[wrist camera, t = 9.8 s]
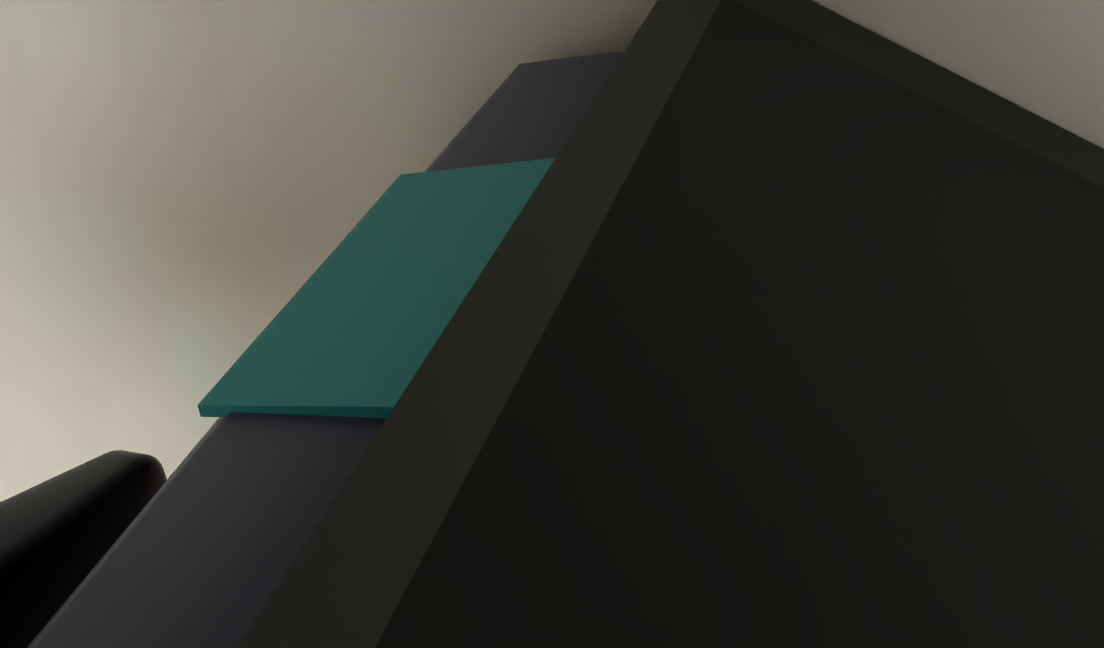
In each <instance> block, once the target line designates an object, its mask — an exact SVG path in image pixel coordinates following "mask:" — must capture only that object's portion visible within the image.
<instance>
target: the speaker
mask: <svg viewBox="0 0 1104 648" xmlns="http://www.w3.org/2000/svg"><path fill="white" fill-rule="evenodd" d="M198 408H199V411H200V415H201V417H219V419H218V420H217V421H216V422H215V423H214V425H213V426H212V427H211V428H210V429H209V431H208V432H207V433H206V434H205V435H204V437H203V438H202V439H201V440H200V441H199V442H198V444H197V445H196V446H195V447H194V448H193V450H192V451H191V452H190V453H189V454H188V456H187V457H186V458H185V459H184V460H183V462H182V463H181V464H180V465H179V466H178V468H177V469H176V470H175V471H174V472H173V474H172V475H171V476H170V477H169V478H168V480H167V481H166V482H165V483H164V484H163V485H162V487H161V488H160V489H159V490H158V491H157V493H156V494H155V495H154V496H153V497H152V499H151V500H150V501H149V502H148V503H147V505H146V506H145V507H144V508H143V509H142V511H141V512H140V513H139V514H138V515H137V517H136V518H135V519H134V520H133V521H132V522H131V524H130V525H129V526H128V527H127V528H126V530H125V531H124V532H123V533H122V534H121V536H120V537H119V538H118V539H117V540H116V542H115V543H114V544H113V545H112V546H111V548H110V549H109V550H108V551H107V552H106V554H105V555H104V556H103V557H102V558H101V560H100V561H99V562H98V563H97V564H96V565H95V567H94V568H93V569H92V570H91V571H90V573H89V574H88V575H87V576H86V577H85V579H84V580H83V581H82V582H81V583H80V585H79V586H78V587H77V588H76V589H75V591H74V592H73V593H72V594H71V595H70V597H69V598H68V599H67V600H66V601H65V602H64V604H63V605H62V606H61V607H60V608H59V610H58V611H57V612H56V613H55V614H54V616H53V617H52V618H51V619H50V620H49V622H48V623H47V624H46V625H45V626H44V628H43V629H42V630H41V631H40V632H39V634H38V635H37V636H36V637H35V638H34V640H33V641H32V642H31V643H30V644H29V645H28V647H27V648H1104V149H1102V148H1100V147H1098V146H1096V145H1094V144H1092V143H1090V142H1088V141H1086V140H1084V139H1082V138H1080V137H1078V136H1076V135H1074V134H1072V133H1070V132H1068V131H1066V130H1064V129H1063V128H1061V127H1059V126H1057V125H1055V124H1053V123H1051V122H1049V121H1047V120H1045V119H1043V118H1041V117H1039V116H1037V115H1035V114H1033V113H1031V112H1029V111H1027V110H1025V109H1023V108H1021V107H1019V106H1017V105H1015V104H1013V103H1011V102H1009V101H1007V100H1006V99H1004V98H1002V97H1000V96H998V95H996V94H994V93H992V92H990V91H988V90H986V89H984V88H982V87H980V86H978V85H976V84H974V83H972V82H970V81H968V80H966V79H964V78H962V77H960V76H958V75H956V74H954V73H952V72H950V71H949V70H947V69H945V68H943V67H941V66H939V65H937V64H935V63H933V62H931V61H929V60H927V59H925V58H923V57H921V56H919V55H917V54H915V53H913V52H911V51H909V50H907V49H905V48H903V47H901V46H899V45H897V44H895V43H893V42H892V41H890V40H888V39H886V38H884V37H882V36H880V35H878V34H876V33H874V32H872V31H870V30H868V29H866V28H864V27H862V26H860V25H858V24H856V23H854V22H852V21H850V20H848V19H846V18H844V17H842V16H840V15H838V14H836V13H835V12H833V11H831V10H829V9H827V8H825V7H823V6H821V5H819V4H817V3H815V2H813V1H811V0H658V1H657V2H656V4H655V6H654V7H653V9H652V10H651V12H650V13H649V15H648V16H647V18H646V19H645V21H644V22H643V24H642V26H641V27H640V29H639V30H638V32H637V33H636V35H635V36H634V38H633V39H632V41H631V42H630V44H629V46H628V47H627V49H626V50H625V51H624V52H616V53H607V54H599V55H591V56H583V57H574V58H566V59H558V60H550V61H541V62H533V63H525V64H519V65H518V66H517V67H516V69H515V70H514V71H513V72H512V73H511V74H510V75H509V77H508V78H507V79H506V80H505V81H504V82H503V83H502V85H501V86H500V87H499V88H498V89H497V90H496V91H495V92H494V94H493V95H492V96H491V97H490V98H489V99H488V100H487V102H486V103H485V104H484V105H483V106H482V107H481V108H480V110H479V111H478V112H477V113H476V114H475V115H474V116H473V117H472V119H471V120H470V121H469V122H468V123H467V124H466V125H465V127H464V128H463V129H462V130H461V131H460V132H459V133H458V135H457V136H456V137H455V138H454V139H453V140H452V141H451V143H450V144H449V145H448V146H447V147H446V148H445V149H444V150H443V152H442V153H441V154H440V155H439V156H438V157H437V158H436V160H435V161H434V162H433V163H432V164H431V165H430V167H429V168H428V169H427V170H426V171H425V172H422V173H413V174H403V175H400V176H399V177H398V178H397V180H396V181H395V182H394V183H393V184H392V185H391V186H390V188H389V189H388V190H387V191H386V192H385V193H384V194H383V195H382V197H381V198H380V199H379V200H378V201H377V202H376V203H375V205H374V206H373V207H372V208H371V209H370V210H369V211H368V212H367V214H366V215H365V216H364V217H363V218H362V219H361V220H360V222H359V223H358V224H357V225H356V226H355V227H354V228H353V230H352V231H351V232H350V233H349V234H348V235H347V236H346V237H345V239H344V240H343V241H342V242H341V243H340V244H339V245H338V247H337V248H336V249H335V250H334V251H333V252H332V253H331V255H330V256H329V257H328V258H327V259H326V260H325V261H324V262H323V264H322V265H321V266H320V267H319V268H318V269H317V270H316V272H315V273H314V274H313V275H312V276H311V277H310V278H309V279H308V281H307V282H306V283H305V284H304V285H303V286H302V287H301V289H300V290H299V291H298V292H297V293H296V294H295V295H294V297H293V298H292V299H291V300H290V301H289V302H288V303H287V304H286V306H285V307H284V308H283V309H282V310H281V311H280V312H279V314H278V315H277V316H276V317H275V318H274V319H273V320H272V321H271V323H270V324H269V325H268V326H267V327H266V328H265V329H264V331H263V332H262V333H261V334H260V335H259V336H258V337H257V339H256V340H255V341H254V342H253V343H252V344H251V345H250V346H249V348H248V349H247V350H246V351H245V352H244V353H243V354H242V356H241V357H240V358H239V359H238V360H237V361H236V362H235V364H234V365H233V366H232V367H231V368H230V369H229V370H228V371H227V373H226V374H225V375H224V376H223V377H222V378H221V379H220V381H219V382H218V383H217V384H216V385H215V386H214V387H213V388H212V390H211V391H210V392H209V393H208V394H207V395H206V396H205V398H204V399H203V400H202V401H201V402H200V403H199V404H198Z"/></svg>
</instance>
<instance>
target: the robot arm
mask: <svg viewBox="0 0 1104 648" xmlns="http://www.w3.org/2000/svg"><path fill="white" fill-rule="evenodd" d="M166 481H167V478H166V475H165V472H164V469H163V467H162V465H161V463H160V462H159V461H158V460H157V459H156V458H155V457H152V456H150V455H146V454H140V453H134V452H128V451H122V450H120V451H111V452H108V453H105V454H103V455H101V456H99V457H97V458H95V459H93V460H90V461H88V462H86V463H84V464H82V465H80V466H78V467H75V468H73V469H71V470H69V471H67V472H65V473H62V474H60V475H58V476H56V477H54V478H52V479H50V480H47V481H45V482H43V483H41V484H39V485H37V486H35V487H32V488H30V489H28V490H26V491H24V492H22V493H20V494H17V495H15V496H13V497H11V498H9V499H7V500H4V501H2V502H0V648H27V647H28V645H29V644H30V643H31V642H32V641H33V640H34V638H35V637H36V636H37V635H38V634H39V632H40V631H41V630H42V629H43V628H44V626H45V625H46V624H47V623H48V622H49V620H50V619H51V618H52V617H53V616H54V614H55V613H56V612H57V611H58V610H59V608H60V607H61V606H62V605H63V604H64V602H65V601H66V600H67V599H68V598H69V597H70V595H71V594H72V593H73V592H74V591H75V589H76V588H77V587H78V586H79V585H80V583H81V582H82V581H83V580H84V579H85V577H86V576H87V575H88V574H89V573H90V571H91V570H92V569H93V568H94V567H95V565H96V564H97V563H98V562H99V561H100V560H101V558H102V557H103V556H104V555H105V554H106V552H107V551H108V550H109V549H110V548H111V546H112V545H113V544H114V543H115V542H116V540H117V539H118V538H119V537H120V536H121V534H122V533H123V532H124V531H125V530H126V528H127V527H128V526H129V525H130V524H131V522H132V521H133V520H134V519H135V518H136V517H137V515H138V514H139V513H140V512H141V511H142V509H143V508H144V507H145V506H146V505H147V503H148V502H149V501H150V500H151V499H152V497H153V496H154V495H155V494H156V493H157V491H158V490H159V489H160V488H161V487H162V485H163V484H164V483H165V482H166Z"/></svg>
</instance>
